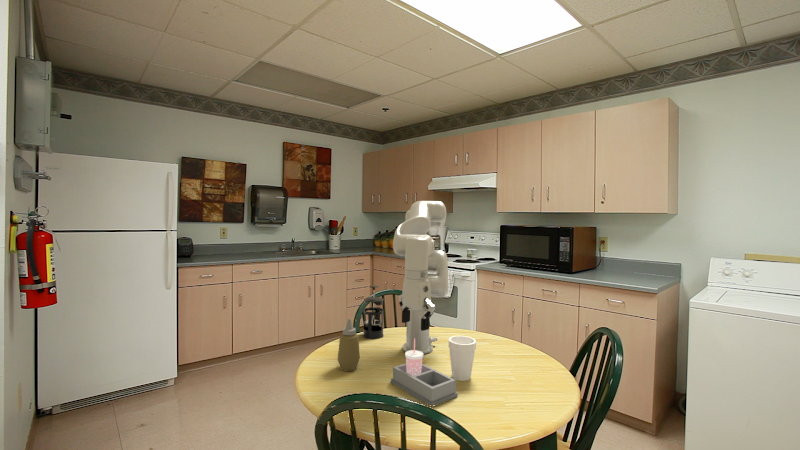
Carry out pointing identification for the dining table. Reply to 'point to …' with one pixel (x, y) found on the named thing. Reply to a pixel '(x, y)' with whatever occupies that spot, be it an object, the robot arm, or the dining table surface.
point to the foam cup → (462, 356)
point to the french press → (373, 324)
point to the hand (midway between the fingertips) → (415, 325)
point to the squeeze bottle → (349, 348)
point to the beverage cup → (413, 361)
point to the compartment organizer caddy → (425, 384)
